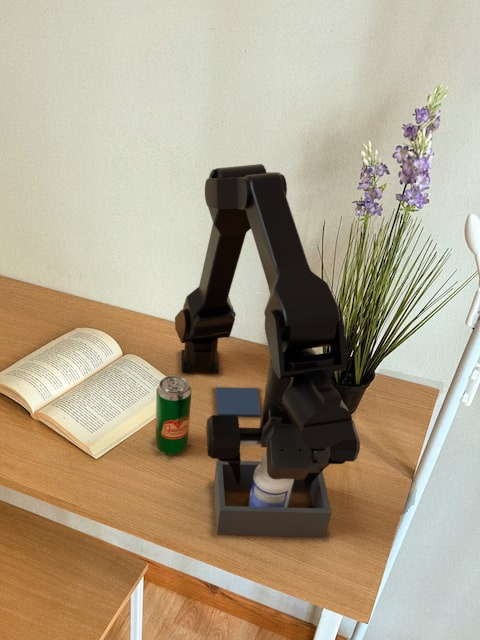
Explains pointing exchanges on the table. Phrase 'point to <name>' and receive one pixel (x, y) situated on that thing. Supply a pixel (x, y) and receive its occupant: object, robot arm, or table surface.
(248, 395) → the mat
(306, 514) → the tub
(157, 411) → the soda can
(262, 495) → the pill bottle
